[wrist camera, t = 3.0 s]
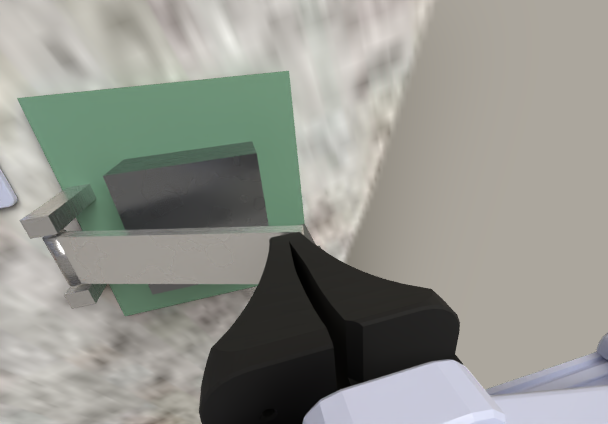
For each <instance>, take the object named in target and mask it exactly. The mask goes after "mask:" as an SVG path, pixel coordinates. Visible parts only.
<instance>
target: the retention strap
mask: <svg viewBox="0 0 608 424" xmlns="http://www.w3.org/2000/svg"><path fill="white" fill-rule="evenodd" d="M295 232H300V233H302V234H303V235H304V230H303V225H293V226H255V227H217V228H179V229H141V230H103V231H66V230H61V231H60V232H59V233H58V234H53V235H48V236H44V237H43V238H42V239H43V241H44V242H45V244H46V246H47V248H48V249H49V251H50V253H51V255H52V256H53V258H54V260H55V261H56V263H57V265H58V267H59V268H60V270H61V272H62V274H63V275H64V277H65V279H66V281H67V282H68V284H69V286H77V285H80V284H259V281H260V279H261V276H262V274H263V271H264V268H265V265H266V261H267V257H268V253H269V240H270V238H271V237H276V236H280V235H285V234H290V233H295Z"/></svg>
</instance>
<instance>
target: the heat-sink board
mask: <svg viewBox="0 0 608 424" xmlns="http://www.w3.org/2000/svg"><path fill="white" fill-rule="evenodd" d="M17 99H18V101H19V103H20V105H21V107H22V109H23V111H24V113H25V115H26V117H27V119H28V121H29V123H30V125H31V127H32V129H33V131H34V133H35V135H36V137H37V139H38V142H39V144H40V146H41V148H42V150H43V152H44V154H45V156H46V158H47V160H48V162H49V164H50V166H51V168H52V170H53V172H54V174H55V176H56V178H57V180H58V182H59V184H60V186H61V188H62V190H63V191H62V192H61V193H59V194H58V195H56V196H55V197H53V198H52V199H50V200H49V201H47V202H46V203H44V204H43V205H42V206H40V207H39V208H37V209H36V210H34V211H33V212H31V213H30V214H28V215H27V216H26V217H24V218H23V219H21V220H20V222H21V224H22V225H23V227H24V229H25V230H26V232H27V234H28V235H29V237H30V239H31V238H36V237H42V236H48V235H53V234H58V233H59V232H60V231H61V230H62V229H63V228H65V227H66V226H67V225H68V224H69V223H70V222H71V221H72V220H73V219H74V218H75V217H76V218H77V220H78V222H79V224H80V226H81V228H82V230H83V231H103V230H141V229H179V228H217V227H255V226H293V225H303V230H304V236H305V237H306V238H308V239H309V240H310V241H311V242H313V243H314V241H313V239H312V237H311V235H310V233H309V231H308V230H307V228H306V226H305V224H304V214H303V204H302V195H301V185H300V175H299V165H298V156H297V146H296V136H295V126H294V117H293V107H292V97H291V87H290V78H289V71H283V72H273V73H263V74H253V75H243V76H233V77H223V78H213V79H203V80H194V81H184V82H174V83H164V84H154V85H144V86H134V87H124V88H114V89H104V90H94V91H84V92H74V93H64V94H54V95H44V96H34V97H25V98H17ZM314 244H315V243H314ZM318 247H319V248H321V247H320V246H318ZM106 285H107V284H80V285H77V286H70V288H69V289H68V290H67V292H66V293H65V294H64V296H65V298H66V299H67V301H68V303H69V304H70V306H71V308H72V309H73V308H78V307H82V306H87V305H91V304H96V302H97V300H98V299H99V297H100V295H101V293H102V292H103V290H104V288H105V287H106ZM109 285H110V287H111V289H112V291H113V293H114V295H115V297H116V299H117V301H118V303H119V305H120V307H121V309H122V311H123V313H124V315H125V316H128V315H133V314H137V313H141V312H146V311H150V310H154V309H159V308H163V307H168V306H172V305H176V304H181V303H185V302H189V301H194V300H198V299H202V298H207V297H211V296H216V295H220V294H224V293H229V292H233V291H237V290H242V289H246V288H251V287H255V286H258V284H109Z"/></svg>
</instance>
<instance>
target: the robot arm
mask: <svg viewBox="0 0 608 424" xmlns="http://www.w3.org/2000/svg"><path fill="white" fill-rule="evenodd" d="M16 202H17V196H16V195H15V193H14V191H13V189H12V188H11V186H10V184H9V183H8V181H7V179H6V177H5V176H4V174H3V172H2V170H1V169H0V208H5V207H10V206H12V205H14V204H15V203H16ZM459 327H460V322H459V319H458V316H457V314H456V313H455V312H454V311H453V310H452V309H451V308H450V307H449V306H448V305H447V303H446V302H445V301H444V300H443V299H442V298H441V297H440V296H439V295H437V294H436V293H435V292H434V291H433V290H432V289H428V288H423V287H417V286H412V285H406V284H401V283H398V282H394V281H389V280H386V279H382V278H379V277H376V276H374V275H371V274H368V273H365V272H363V271H360V270H358V269H356V268H354V267H351V266H349V265H347V264H345V263H343V262H341V261H339V260H338V259H336V258H334V257H333V256H331V255H329V254H328V253H326V252H325V251H324V250H322V249H321V248H319V247H318V246H317V245H315V244H314V243H313V242H311V241H310V240H309V239H308V238H306V237H305V236H304V235H303V234H302V233H300V232H295V233H290V234H285V235H280V236H276V237H271V238H270V240H269V253H268V257H267V261H266V265H265V268H264V271H263V274H262V276H261V279H260V281H259V284H258V286H257V288H256V290H255V292H254V294H253V296H252V297H251V299H250V301H249V303H248V304H247V306H246V307H245V309H244V310H243V312H242V313H241V315H240V316H239V317H238V319H237V320H236V321H235V323H234V324H233V325H232V327H231V328H230V329H229V330H228V331H227V332H226V333H225V334H224V335H223V336H222V338H221V339H220V340H219V341H218V342H217V343H216V344H215V345H214V346H213V347H212V348H211V350H210V353H209V356H208V360H207V363H206V367H205V371H204V376H203V380H202V386H201V395H200V407H199V413H200V418H201V422H202V424H608V333H607V334H605V335H604V336H603V338H602V339H601V340H600V342H599V344H598V347H597V352H594V353H591V354H588V355H585V356H582V357H579V358H577V359H573V360H571V361H568V362H565V363H562V364H559V365H556V366H553V367H550V368H547V369H544V370H541V371H538V372H535V373H533V374H529V375H527V376H523V377H521V378H518V379H515V380H512V381H509V382H506V383H503V384H500V385H497V386H494V387H491V388H488V389H484V388H483V387H482V386H481V384H480V383H479V382H478V381H477V380H476V378H475V377H474V376H473V375H472V374H471V372H470V371H469V370H468V369H467V367H466V366H464V365H463V363H462V362H461V361H460V360H459V359H458V357H457V356H456V355H455V351H456V345H457V340H458V335H459Z"/></svg>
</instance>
